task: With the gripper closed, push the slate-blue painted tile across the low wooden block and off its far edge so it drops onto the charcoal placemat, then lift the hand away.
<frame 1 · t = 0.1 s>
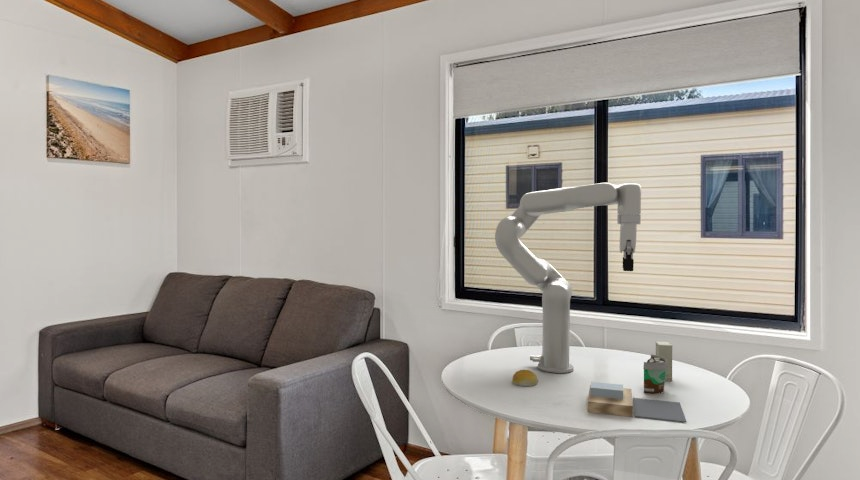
hand: (627, 269, 191), 37 cm above the table, tool pointing down, fingers open, 9 cm apart
tile: (606, 394, 163), point 3 cm above the table, touching wooden block
wooden block: (610, 405, 162), on the table
skincare box: (663, 379, 189), on the table
food container: (657, 391, 176), on the table
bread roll: (524, 383, 184), on the table
mat: (658, 410, 158), on the table
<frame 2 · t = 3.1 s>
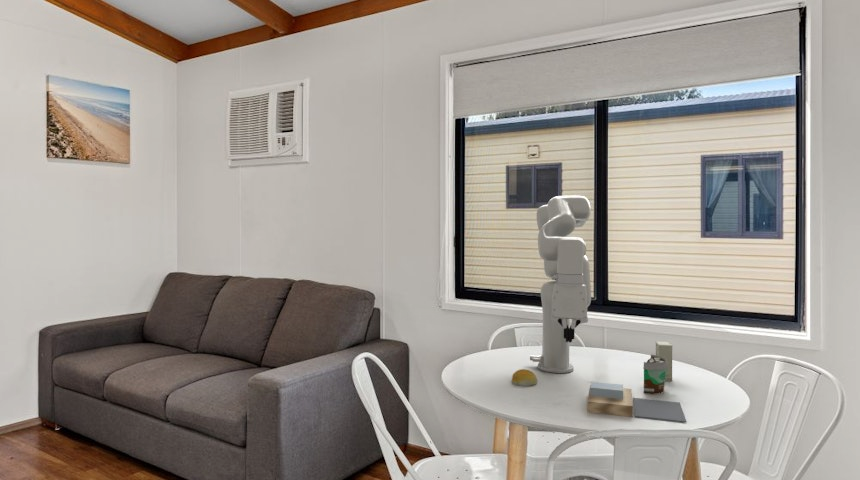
hand: (568, 341, 165), 18 cm above the table, tool pointing down, fingers closed
nothing on the table moved.
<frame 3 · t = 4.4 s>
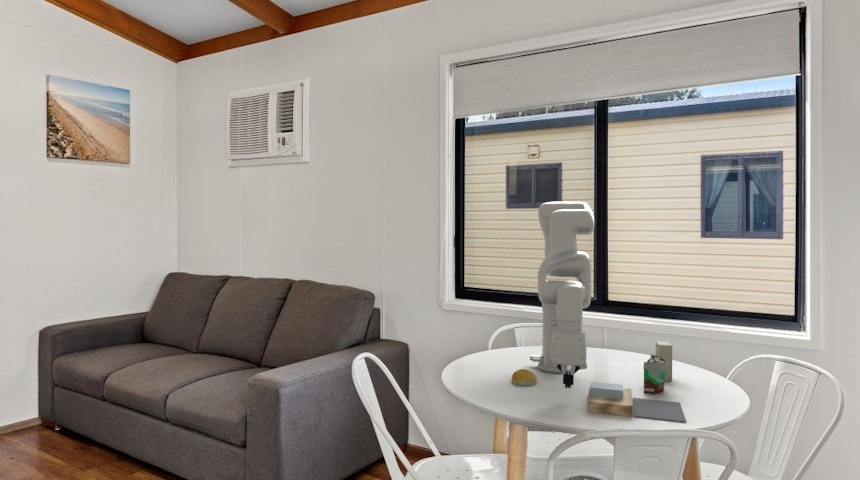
hand: (568, 386, 166), 4 cm above the table, tool pointing down, fingers closed
nothing on the table moved.
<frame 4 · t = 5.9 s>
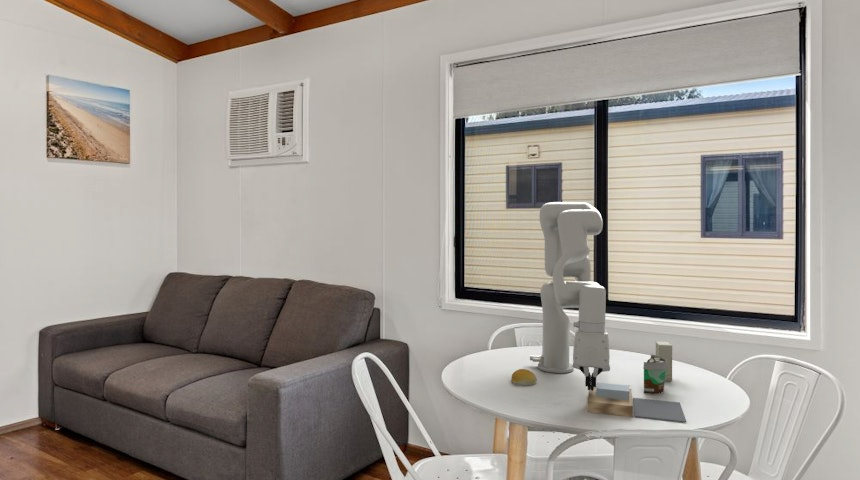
hand: (590, 388, 164), 4 cm above the table, tool pointing down, fingers closed
tile: (612, 395, 162), point 3 cm above the table, touching wooden block, gripper
everything else where it was.
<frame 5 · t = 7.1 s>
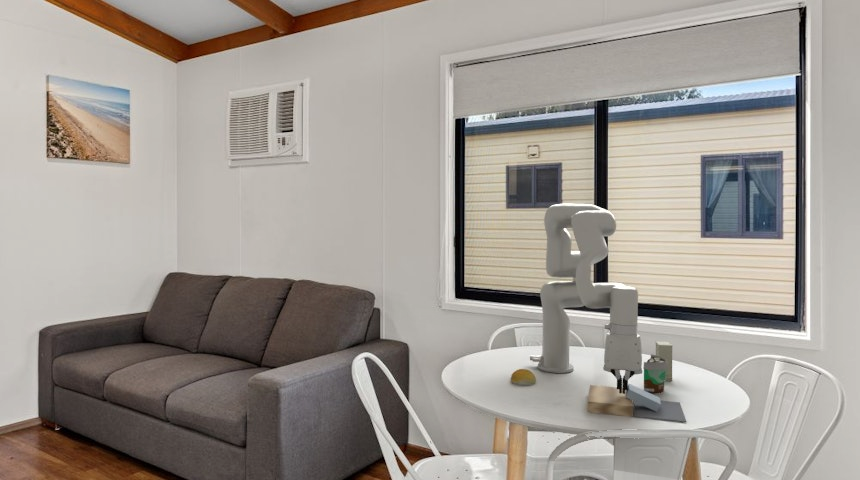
hand: (622, 392, 161), 4 cm above the table, tool pointing down, fingers closed
tile: (640, 401, 160), point 2 cm above the table, tilted 22°, touching gripper
everything else where it was.
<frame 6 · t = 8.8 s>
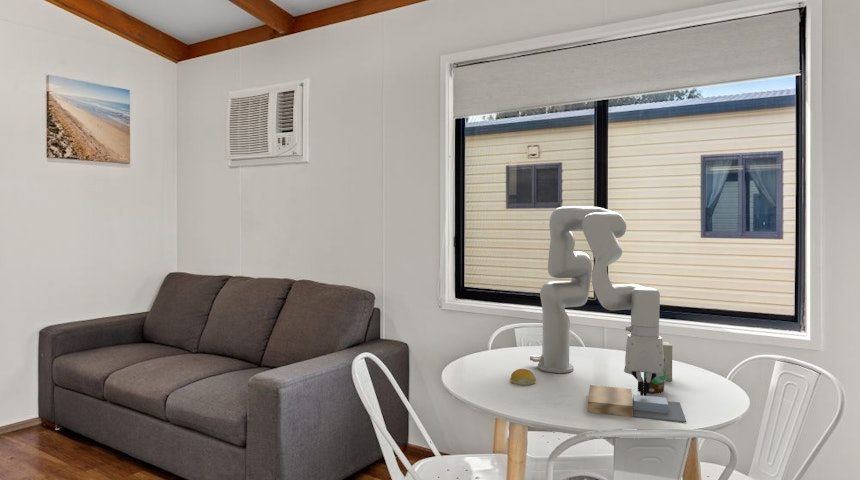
hand: (643, 394, 159), 4 cm above the table, tool pointing down, fingers closed
tile: (650, 407, 159), resting on mat
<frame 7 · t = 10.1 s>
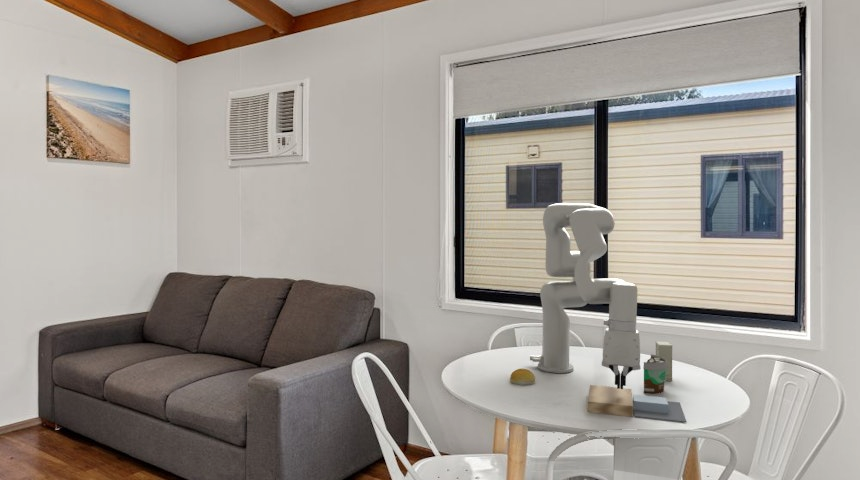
hand: (620, 387, 162), 5 cm above the table, tool pointing down, fingers closed
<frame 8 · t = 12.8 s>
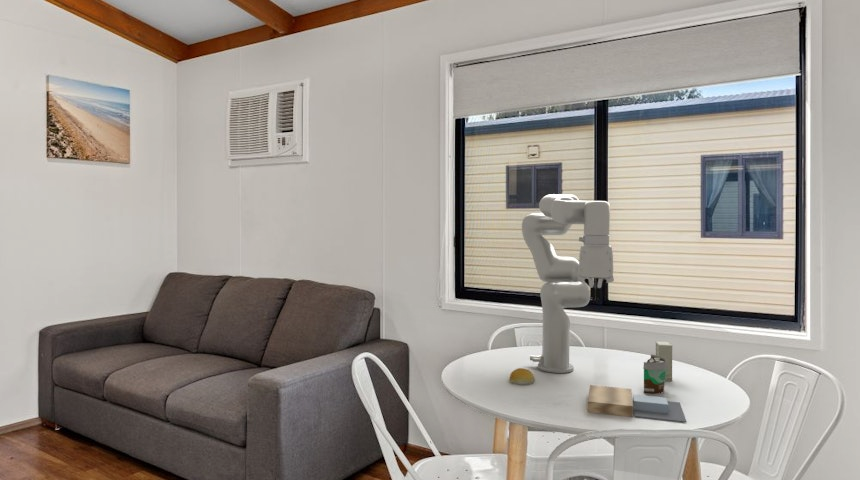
hand: (595, 300, 172), 29 cm above the table, tool pointing down, fingers closed
at the end: tile inside the target area on the mat (3.6 cm from its centre), point 0.4 cm above the mat's base; tile resting on mat; tile moved 12.2 cm from its start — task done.
